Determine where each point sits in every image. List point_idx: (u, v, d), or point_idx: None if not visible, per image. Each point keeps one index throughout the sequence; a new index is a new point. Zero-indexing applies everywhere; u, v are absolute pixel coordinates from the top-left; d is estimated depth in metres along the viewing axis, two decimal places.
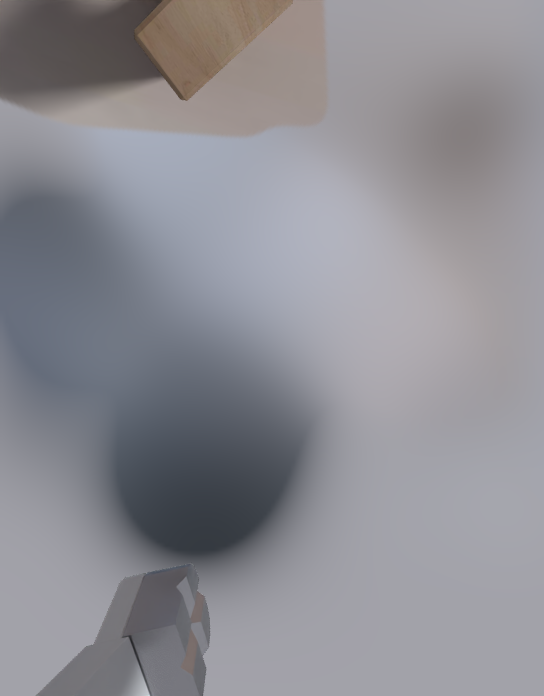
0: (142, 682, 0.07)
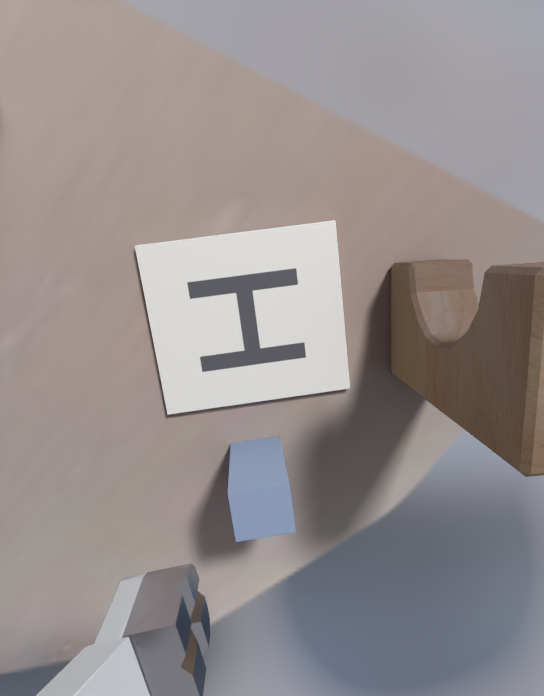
0: (142, 682, 0.07)
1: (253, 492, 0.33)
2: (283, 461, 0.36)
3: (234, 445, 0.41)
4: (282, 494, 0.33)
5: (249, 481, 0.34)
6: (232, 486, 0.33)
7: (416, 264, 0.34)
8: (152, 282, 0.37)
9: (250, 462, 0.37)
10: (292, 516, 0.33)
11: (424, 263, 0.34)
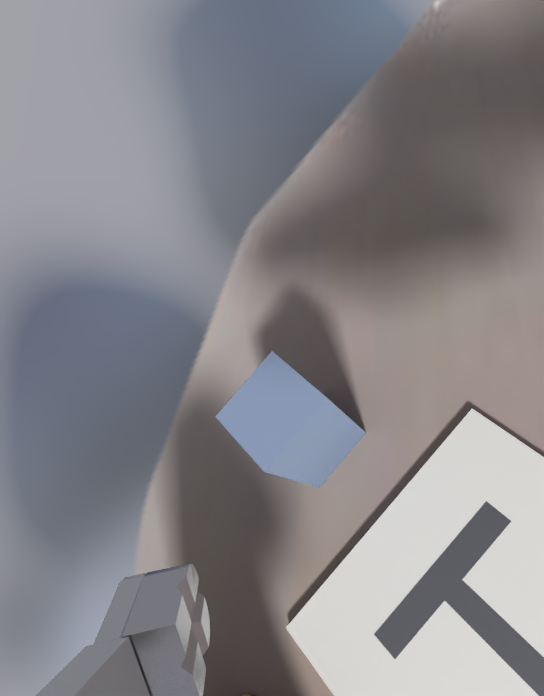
0: (142, 682, 0.07)
1: (297, 424, 0.21)
2: (292, 478, 0.24)
3: (359, 435, 0.28)
4: (263, 450, 0.21)
5: (313, 429, 0.22)
6: (328, 407, 0.22)
7: None
8: None
9: (328, 442, 0.25)
10: (231, 432, 0.23)
11: None
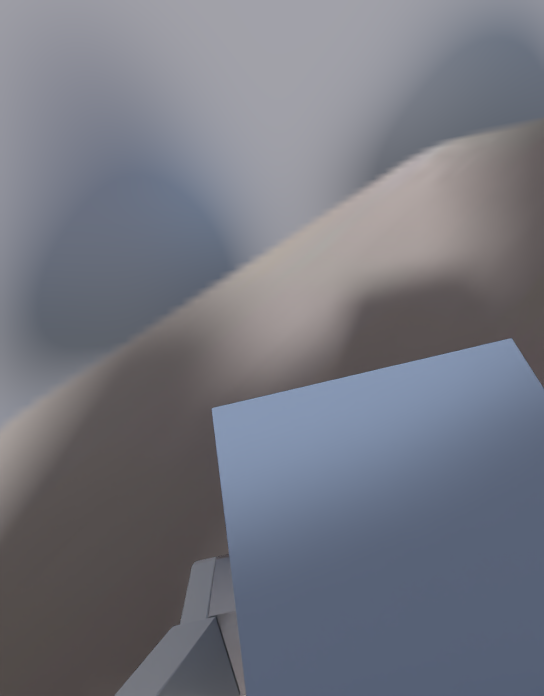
0: (227, 662, 0.07)
1: None
2: None
3: None
4: (308, 686, 0.05)
5: None
6: None
7: None
8: None
9: None
10: (230, 503, 0.06)
11: None
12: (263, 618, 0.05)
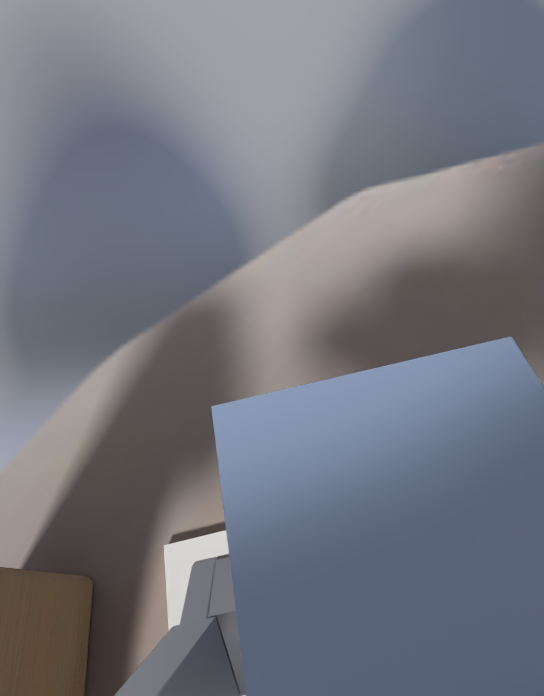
0: (227, 662, 0.07)
1: (524, 695, 0.04)
2: None
3: None
4: (307, 683, 0.05)
5: None
6: None
7: None
8: None
9: None
10: (229, 501, 0.06)
11: None
12: (262, 615, 0.05)
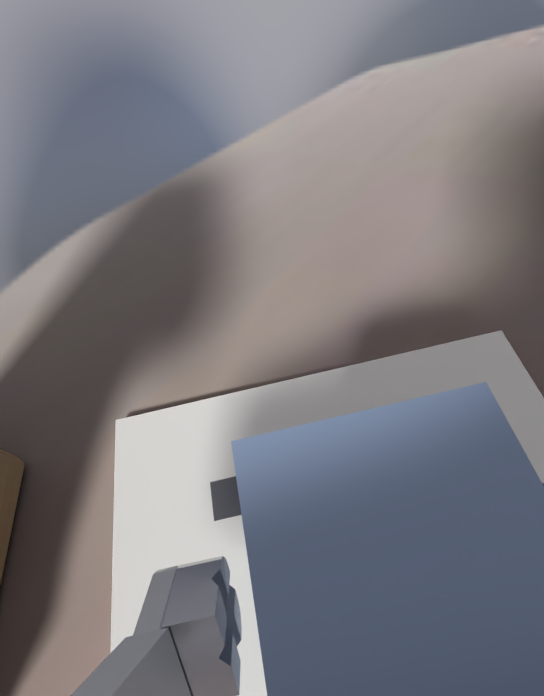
0: (181, 673, 0.07)
1: (485, 683, 0.05)
2: None
3: None
4: (314, 673, 0.06)
5: None
6: None
7: None
8: None
9: None
10: (248, 524, 0.07)
11: None
12: (278, 620, 0.06)
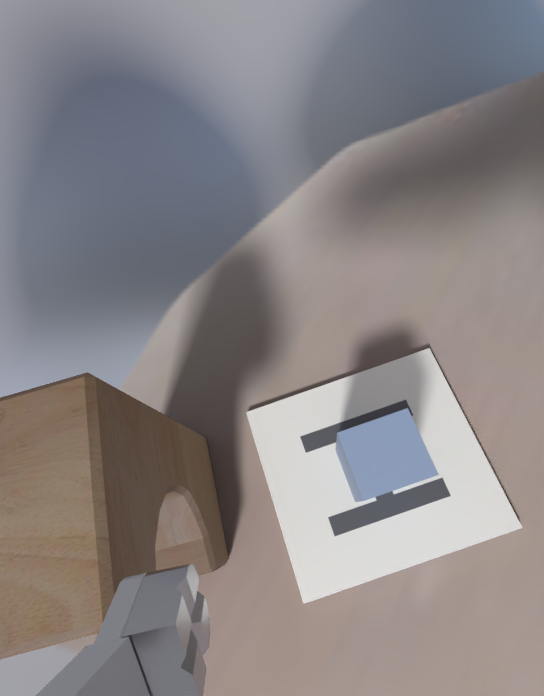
0: (142, 682, 0.07)
1: (405, 480, 0.26)
2: (360, 501, 0.29)
3: None
4: (368, 484, 0.26)
5: None
6: None
7: (207, 571, 0.30)
8: (488, 488, 0.33)
9: None
10: (347, 454, 0.27)
11: (198, 574, 0.30)
12: (358, 475, 0.26)
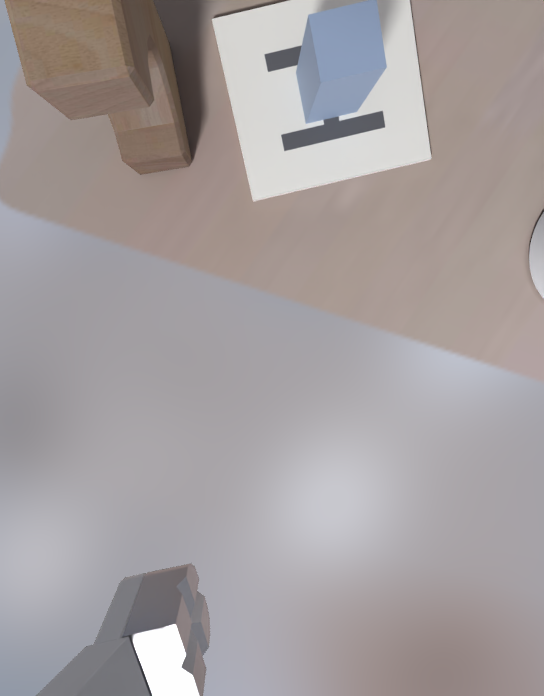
0: (142, 682, 0.07)
1: (358, 68, 0.30)
2: (315, 102, 0.34)
3: (354, 110, 0.38)
4: (328, 68, 0.30)
5: (359, 80, 0.31)
6: (378, 74, 0.31)
7: (178, 154, 0.35)
8: (416, 124, 0.39)
9: (347, 97, 0.34)
10: (314, 38, 0.29)
11: (170, 156, 0.35)
12: (321, 58, 0.30)
